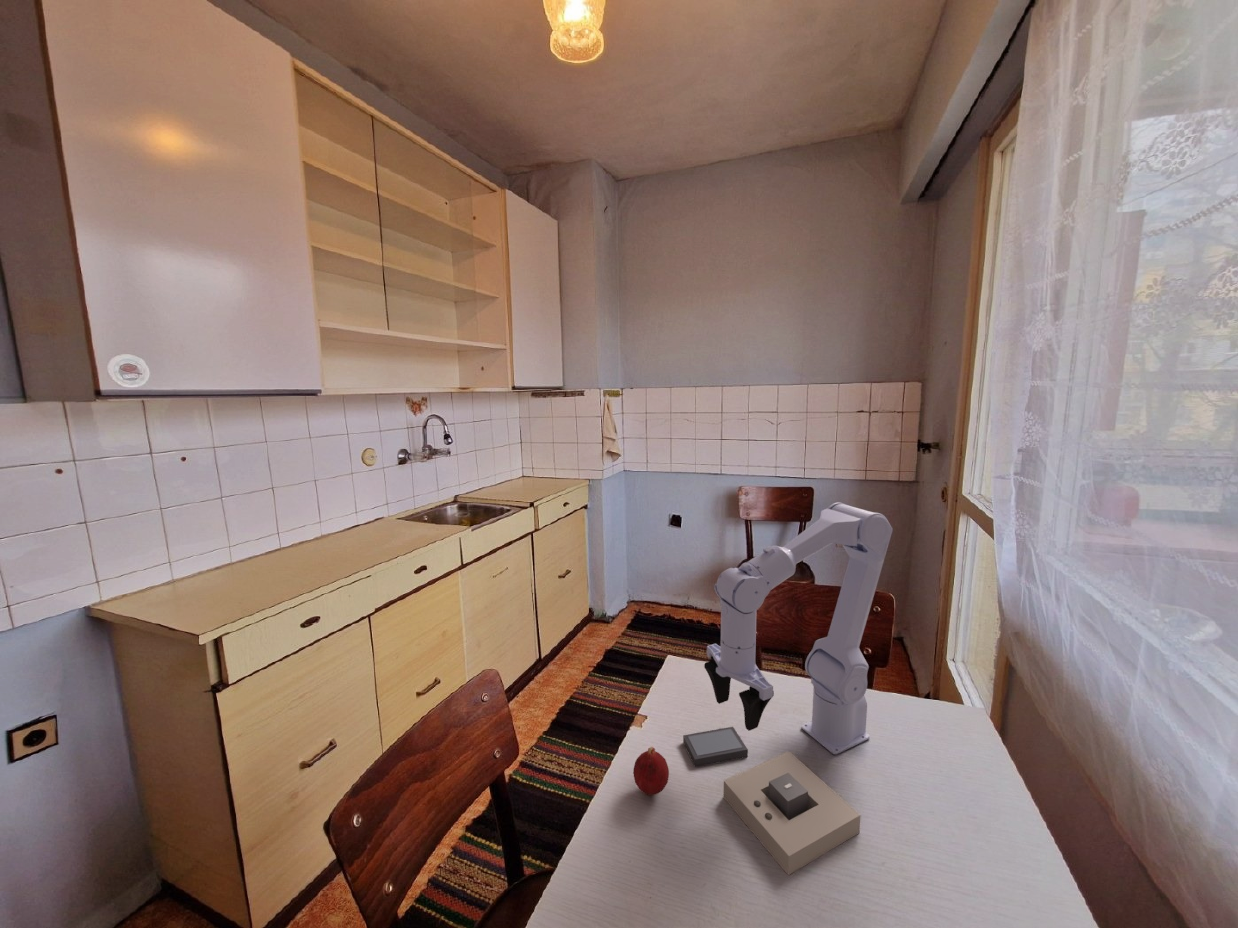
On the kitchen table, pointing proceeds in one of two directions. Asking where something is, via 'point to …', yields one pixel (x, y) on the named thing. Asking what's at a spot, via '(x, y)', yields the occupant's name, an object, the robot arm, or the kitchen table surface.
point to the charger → (788, 796)
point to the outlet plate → (804, 833)
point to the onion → (651, 772)
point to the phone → (714, 746)
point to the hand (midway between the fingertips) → (736, 713)
